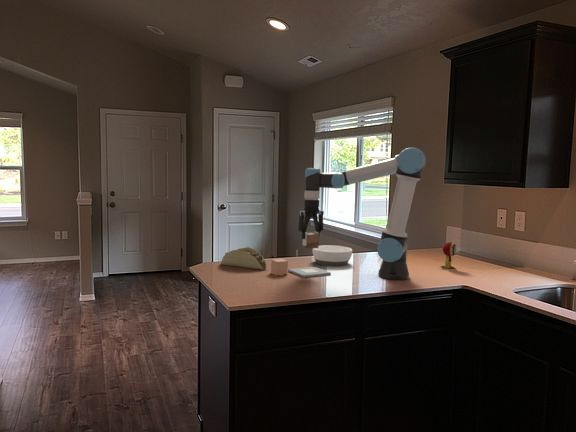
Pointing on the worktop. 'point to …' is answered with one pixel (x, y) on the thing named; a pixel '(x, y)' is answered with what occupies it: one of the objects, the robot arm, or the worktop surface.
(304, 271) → the board
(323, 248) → the bowl
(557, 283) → the worktop surface
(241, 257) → the taco
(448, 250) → the figurine
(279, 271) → the terracotta block
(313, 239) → the walnut block
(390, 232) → the robot arm
